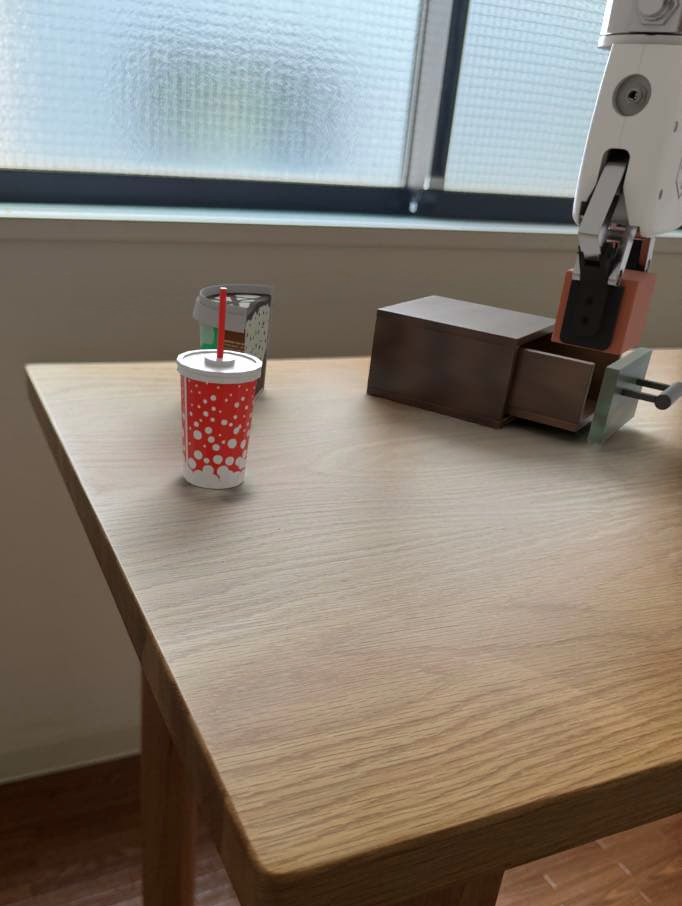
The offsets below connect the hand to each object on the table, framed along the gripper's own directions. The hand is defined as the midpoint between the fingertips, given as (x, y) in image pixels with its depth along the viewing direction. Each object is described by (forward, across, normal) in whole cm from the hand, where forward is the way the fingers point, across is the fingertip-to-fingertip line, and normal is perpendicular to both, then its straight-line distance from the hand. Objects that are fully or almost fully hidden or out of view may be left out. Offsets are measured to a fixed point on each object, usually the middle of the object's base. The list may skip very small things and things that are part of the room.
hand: (596, 336), depth 57 cm
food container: (+13, +3, +34) cm, 37 cm away
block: (0, 0, 0) cm, 0 cm away
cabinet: (+14, +22, +18) cm, 32 cm away
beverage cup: (+13, -13, +22) cm, 29 cm away
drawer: (+13, +22, +6) cm, 27 cm away
